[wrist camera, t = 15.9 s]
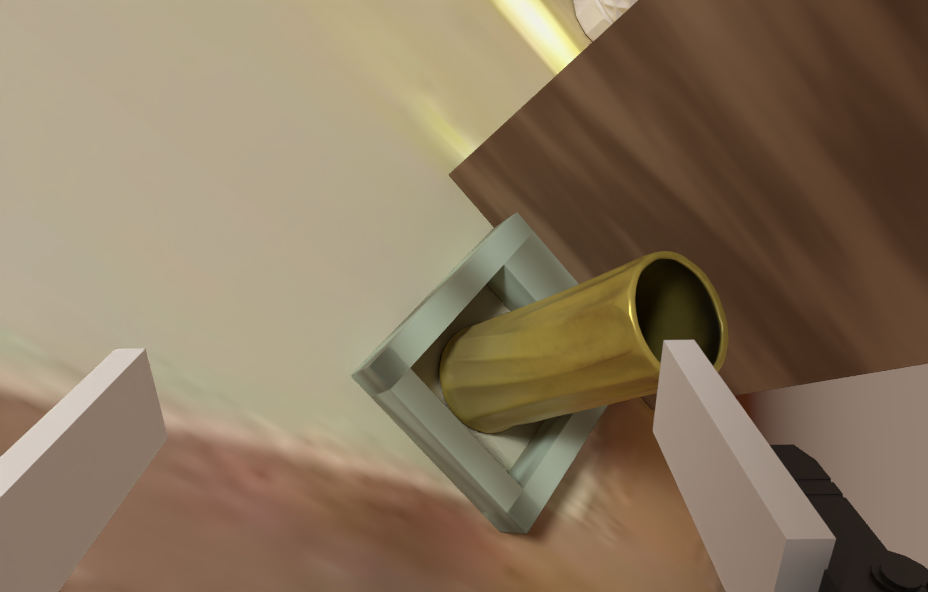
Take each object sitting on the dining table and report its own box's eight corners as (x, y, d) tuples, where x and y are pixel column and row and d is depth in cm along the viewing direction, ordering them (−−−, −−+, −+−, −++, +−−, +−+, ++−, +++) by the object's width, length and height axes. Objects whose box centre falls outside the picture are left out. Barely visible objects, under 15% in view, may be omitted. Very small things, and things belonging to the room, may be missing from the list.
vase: (494, 307, 37) (682, 216, 25) (547, 396, 37) (759, 346, 25) (417, 358, 34) (592, 281, 22) (476, 455, 34) (682, 431, 22)
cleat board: (551, 585, 34) (1203, 703, 14) (291, 313, 31) (648, -27, 11) (664, 388, 42) (1175, 285, 22) (467, 158, 39) (853, -197, 19)
